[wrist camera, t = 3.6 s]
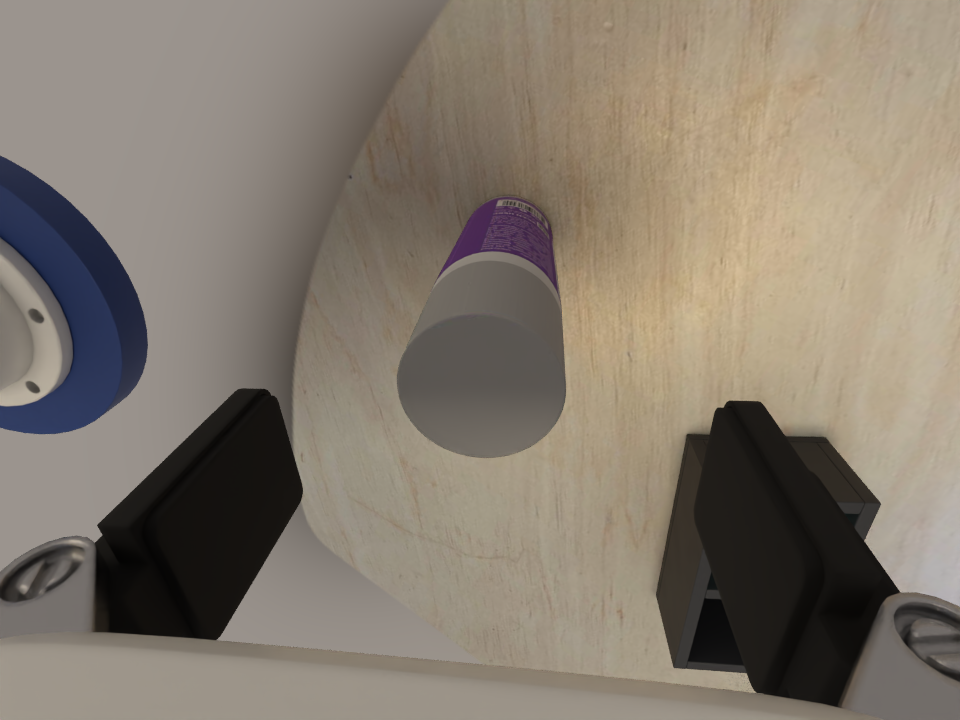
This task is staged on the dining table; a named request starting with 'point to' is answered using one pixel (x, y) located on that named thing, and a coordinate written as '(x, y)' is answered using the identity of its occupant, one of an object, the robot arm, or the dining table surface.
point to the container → (490, 338)
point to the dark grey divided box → (685, 569)
